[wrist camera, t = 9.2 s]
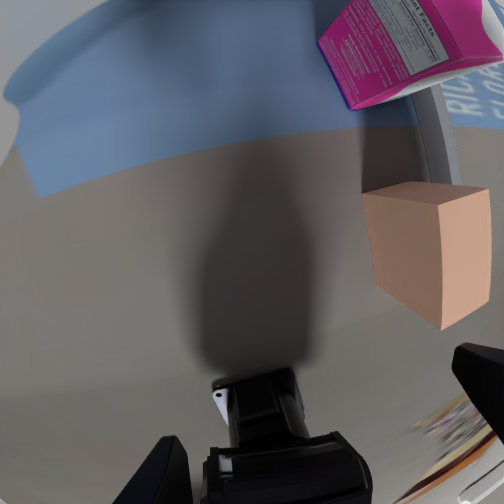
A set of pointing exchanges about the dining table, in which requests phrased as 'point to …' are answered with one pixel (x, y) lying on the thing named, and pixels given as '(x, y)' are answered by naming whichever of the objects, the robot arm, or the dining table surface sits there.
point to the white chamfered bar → (483, 486)
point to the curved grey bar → (437, 135)
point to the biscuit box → (431, 247)
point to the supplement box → (408, 46)
